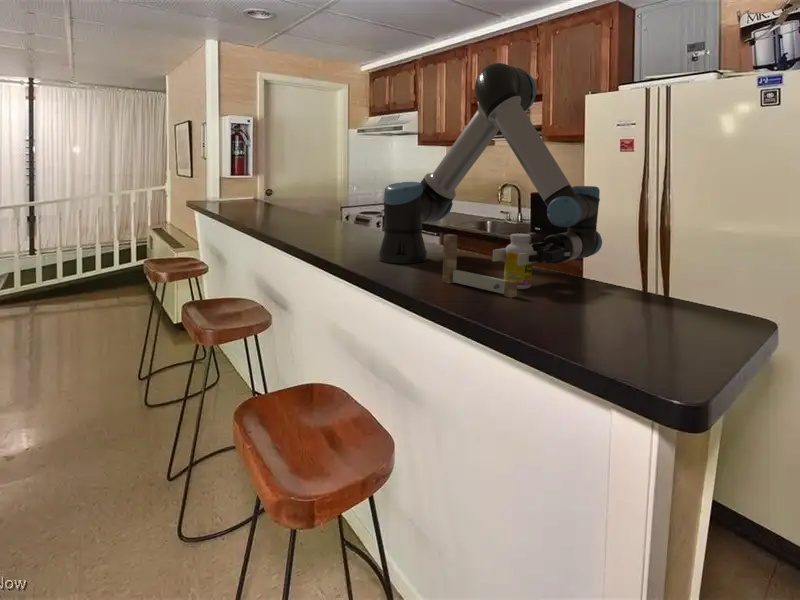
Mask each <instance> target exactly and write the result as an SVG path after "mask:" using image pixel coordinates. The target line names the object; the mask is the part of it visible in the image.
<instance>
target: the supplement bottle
mask: <svg viewBox="0 0 800 600" xmlns="http://www.w3.org/2000/svg"><path fill="white" fill-rule="evenodd" d="M530 241H531V235H530V234H528V233H511V234H510V243H509V244H507V245H508V246H507V247H506V251H505V260H504V271H503V280H512V281H517V290H526V289H529V288H530V287H531V286H532V277H533V276H532V275H533V264H534V263H531V264H527V265H522V266H517V257H518V254H520V253H526V252H531V251H534V250H533V247H532V246H530Z"/></svg>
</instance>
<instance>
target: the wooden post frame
mask: <svg viewBox="0 0 800 600" xmlns="http://www.w3.org/2000/svg"><path fill="white" fill-rule="evenodd" d="M442 244H443V247H442V250H443V251H442V283H445V284H449V285H450V284H454V283H455V282H453V270H457V260H458V259H457V257H458V256H457V255H458V252H457V251H458V235H457V234H450V233H448V234H444V235H443V243H442ZM517 291H518V289H517V281H512V280H508V281H505V286H504V294H503V297H506V298H510V299H511V298H515V297H517V294H518V292H517Z"/></svg>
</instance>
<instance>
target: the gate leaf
mask: <svg viewBox="0 0 800 600" xmlns="http://www.w3.org/2000/svg"><path fill="white" fill-rule="evenodd" d="M505 281H508V280H504V278H498V277H493V276H490V275H489V276H488V275H485V274H484V275H483V274H479V273H474V272H468V271H465V270H464V271H463V270H460V269H456V270H453V282H454V283H456V284H459V285H465V286H467V287H468V286H469V287H473V288H477V289H480V290H485V291H489V292H495V293H498V294H503V295H504V286H505Z"/></svg>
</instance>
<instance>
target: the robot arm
mask: <svg viewBox="0 0 800 600" xmlns="http://www.w3.org/2000/svg"><path fill="white" fill-rule="evenodd" d="M474 94H475V99H476V101H477V110H476V112H475V113H474V115H473V116H472V117H471V119H470V120H469V122H468V123H467V125H466V126H465V128H464V129H463V130H462V132H460V134H459V136H458V137H457V139H456V140H455V141H454V142H453V144H452V146H451V147H450V149H448V150H447V151H448V152H447V153H446V155H444V157H443V158H442V160H441V161H440V163H438V165H437V167H436V168H435V170H434V171H433V172H431V173H429V172H428V173H427V174H425V176H424V177H423V178H422V180H421V181H420V182H418V181H403V182H395V183H390V184H388V185H386V187H385V188H384V191H383V192H384V194H383V199H382V200H383V216H384V217H383V218H384V219H383V221H384V223H383V224H384V225H383V228H384V231H383V232H384V233H383V238H382V242H381V245H380V250H379V251H378V261H379V262H380V261H381V262H384V263H387V264H388V263H390V264H416V263H417V264H418V263H423V262H426V261H427V260H428V251H427V250H426V246H425V244H426V243H425V241H424V238H423V224H424V223H430V222H437V221H439V220H442V219H444V218H446V217H447V216H448V215H449V213H450V212H451V211H452V208H453V205H454V203H453V200H454V199H455V198H456V189H457V187H458V186H459V185H460V183H461V181H462V180H463V179H464V178H465V177H466V176H467V174H468V172H469V171H470V170H471V168H472V167H473V166H474V165H475V163H476V162H477V160H478V159H479V158H480V157H481V155H482V153H484V151H485V150H486V148H487V147H488V146H489V144H490V143H491V142H492V140H493V139H494V138H495V137H496V135H497V134H498V132H499V131H500V134H501V135H502V136H503V138H504V140H505V141H506V143H507V144H508V146H509V148H510V149H511V150H512V152H513V154H514V156H515V157H516V158H517V160H518V162H519V163H520V165H521V167H522V168H523V170H524V172H525V173H526V175H527V176H528V178H529V179H530V181H531V182H532V185H533V186H534V188H535V189H536V191H537V192H538V194H539V196H540V197H541V199H542V201H543V202H544V204H545V206H546V207H547V209H546V215H547V219H548V220H549V222H550V223H551V224H552V225H553V226H556V227H559V228H567V231H566V232H561V233H556V234H549V235H548V236H546V237H544V239H543V240H542V241H538V242H536V243H535V242H534V243H533V242H532V243H529V245H530V246H532V247H533V250H534V251H531V252H526V253H520V254H518V257H517V266H522V265H527V264H531V263H533V264H536V263H539V264H541V263H543V262H544V263H545V264H559V263H565V264H567V263H568V261H572V260H577V259H583V258H584V259H585V258H586V259H587V258H588V257H591V256H594V255H596V254H597V253H599V251H600V250H601V248H602V245H603V239H602V237H601V236H602V235H601V234H600V233H599V232H598V230H597V229H598V228H597V225H598V215H599V206H600V201H601V198H600V196H601V195H600V188H599V187H598V186H594V185H593V186H592V185H586V186H585V185H574V186H572V185H571V183H570V181H569V180H568V179H567V177H566V175H565V174H564V172H563V170H562V169H561V168H560V165H559V164H558V162H557V161H556V159H555V158H554V156H553V154H552V153H551V151H550V150H549V148H548V146H547V145H546V142H544V140H543V139H542V137H541V135H540V134H539V132H538V131H537V129H536V127H535V126H534V124H533V122H531V119H530V118H529V115H527V113H526V111H528V110H529V109H530V108H531V107H532V105H533V104H534V102H535V100H536V95H537V85H536V82H535V79H534V78H533V77H532V75H531V74H529V73H528V72H527V71H525V70H524V69H522V68H519V67H515V66H511V65H508V64H506V63H503V62H497V63H495V62H493V63H491V64H489V65H487V66H486V67H484V68H483V69H482V70H481V71H480V72H479V74H478V75H477V78H476V79H475V85H474ZM508 245H509V244H506V245H502V248H496V249H492V260H491V262H500V261H505V251H506V247H507V246H508Z"/></svg>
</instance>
